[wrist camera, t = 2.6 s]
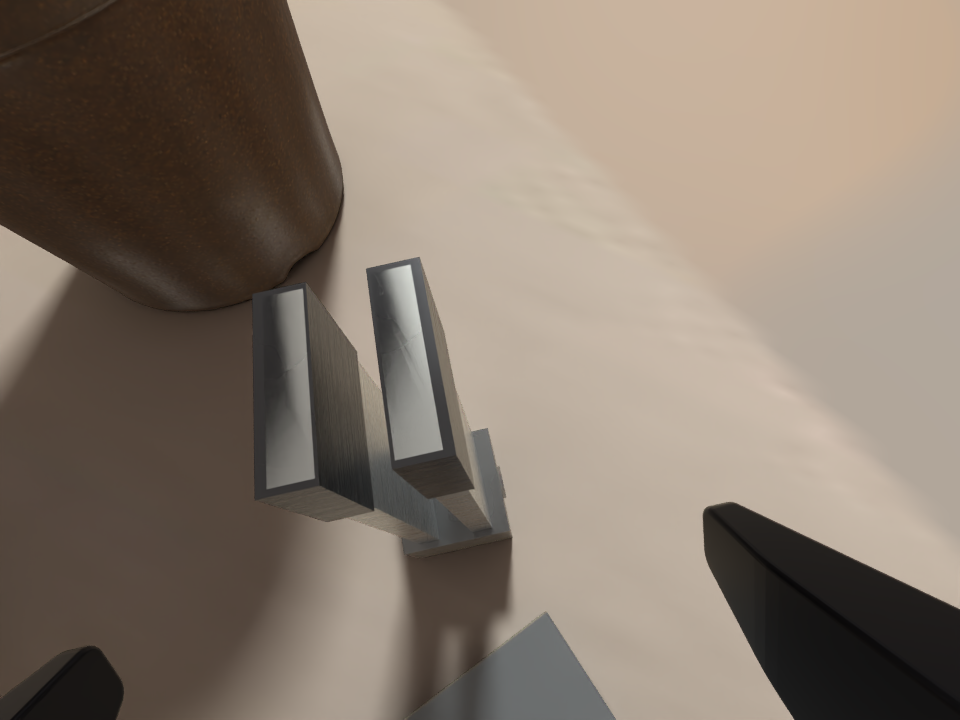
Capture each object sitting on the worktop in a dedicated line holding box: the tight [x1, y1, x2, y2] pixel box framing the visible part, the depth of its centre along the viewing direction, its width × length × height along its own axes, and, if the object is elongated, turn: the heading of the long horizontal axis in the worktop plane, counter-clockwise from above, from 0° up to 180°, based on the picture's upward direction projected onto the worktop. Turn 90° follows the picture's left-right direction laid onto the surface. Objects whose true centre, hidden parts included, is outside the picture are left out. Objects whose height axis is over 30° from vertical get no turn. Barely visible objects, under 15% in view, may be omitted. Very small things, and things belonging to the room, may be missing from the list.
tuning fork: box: [252, 257, 512, 558], centre depth 12 cm, size 3×3×12 cm
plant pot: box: [0, 0, 343, 311], centre depth 17 cm, size 16×16×16 cm
